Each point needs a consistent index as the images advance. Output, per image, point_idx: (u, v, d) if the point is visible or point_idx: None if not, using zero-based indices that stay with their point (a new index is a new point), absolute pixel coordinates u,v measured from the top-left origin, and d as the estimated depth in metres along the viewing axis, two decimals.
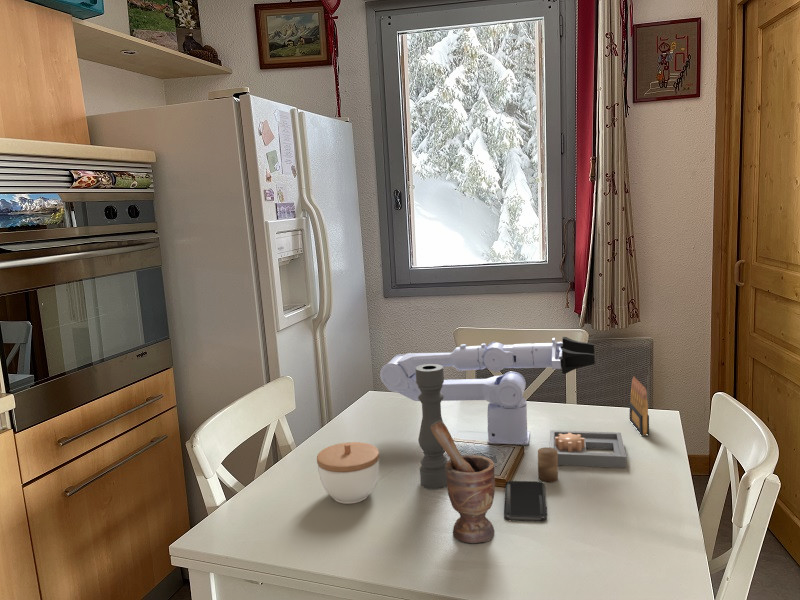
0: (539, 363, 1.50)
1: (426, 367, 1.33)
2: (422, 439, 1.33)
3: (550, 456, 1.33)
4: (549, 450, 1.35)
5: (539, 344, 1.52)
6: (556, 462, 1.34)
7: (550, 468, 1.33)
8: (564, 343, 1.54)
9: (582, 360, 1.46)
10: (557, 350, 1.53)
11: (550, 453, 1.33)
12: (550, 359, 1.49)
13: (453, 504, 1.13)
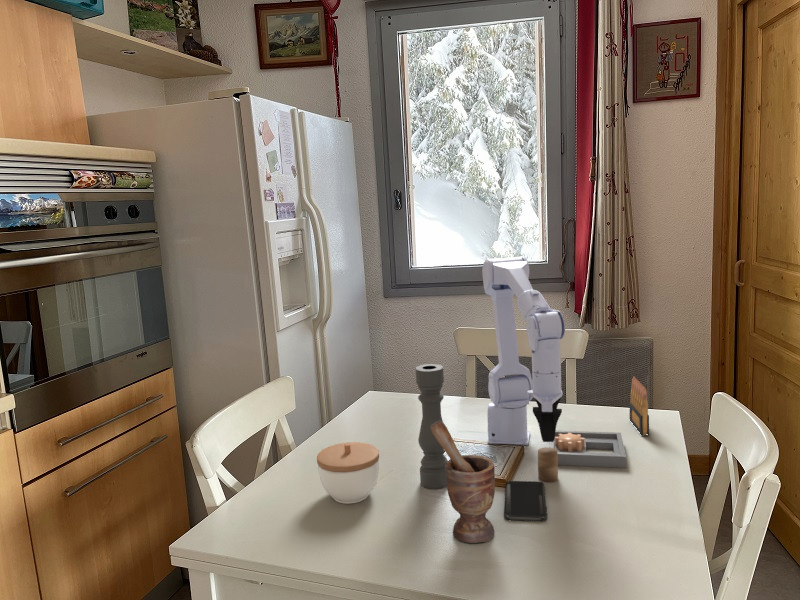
0: None
1: (426, 367, 1.33)
2: (422, 439, 1.33)
3: (550, 456, 1.33)
4: (549, 450, 1.35)
5: None
6: (556, 462, 1.34)
7: (550, 468, 1.33)
8: None
9: None
10: None
11: (550, 453, 1.33)
12: None
13: (453, 504, 1.13)
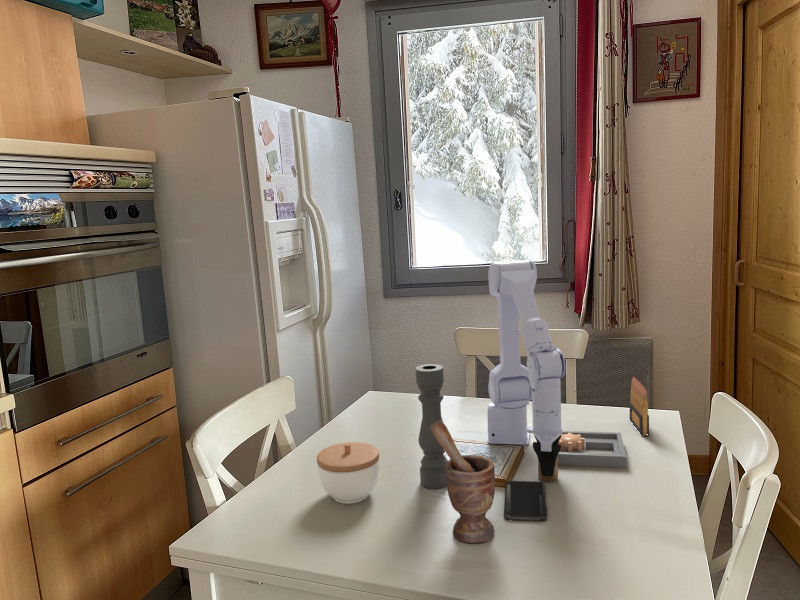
0: None
1: (426, 367, 1.33)
2: (422, 439, 1.33)
3: None
4: None
5: None
6: (556, 462, 1.34)
7: None
8: None
9: None
10: None
11: None
12: None
13: (453, 504, 1.13)
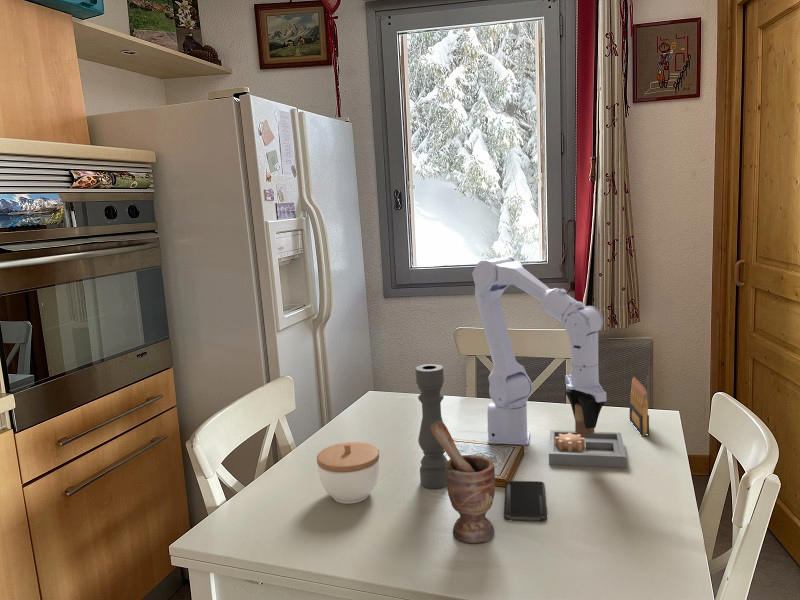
0: None
1: (426, 367, 1.33)
2: (422, 439, 1.33)
3: None
4: None
5: (572, 371, 1.40)
6: None
7: None
8: None
9: None
10: None
11: None
12: None
13: (453, 504, 1.13)
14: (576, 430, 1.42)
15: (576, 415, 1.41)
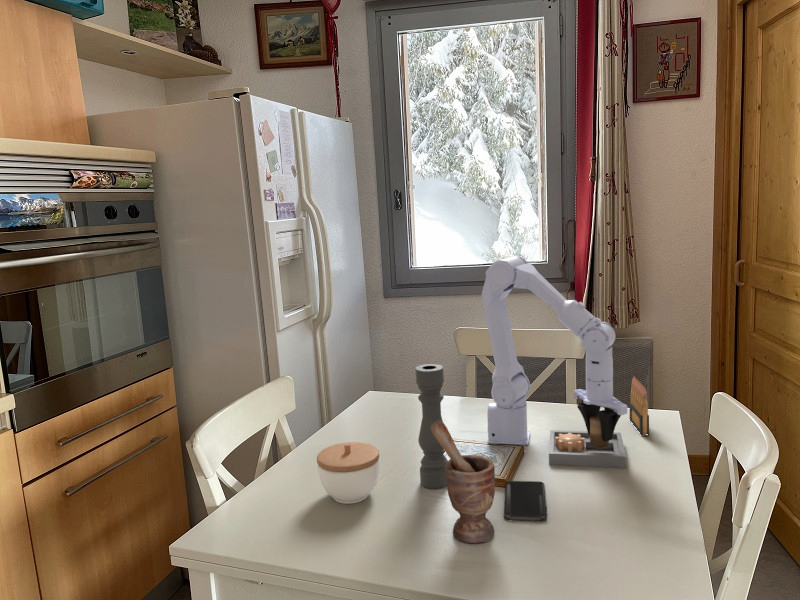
0: None
1: (426, 367, 1.33)
2: (422, 439, 1.33)
3: None
4: (598, 417, 1.45)
5: (588, 386, 1.43)
6: None
7: None
8: None
9: None
10: None
11: None
12: None
13: (453, 504, 1.13)
14: (592, 443, 1.45)
15: (593, 429, 1.44)
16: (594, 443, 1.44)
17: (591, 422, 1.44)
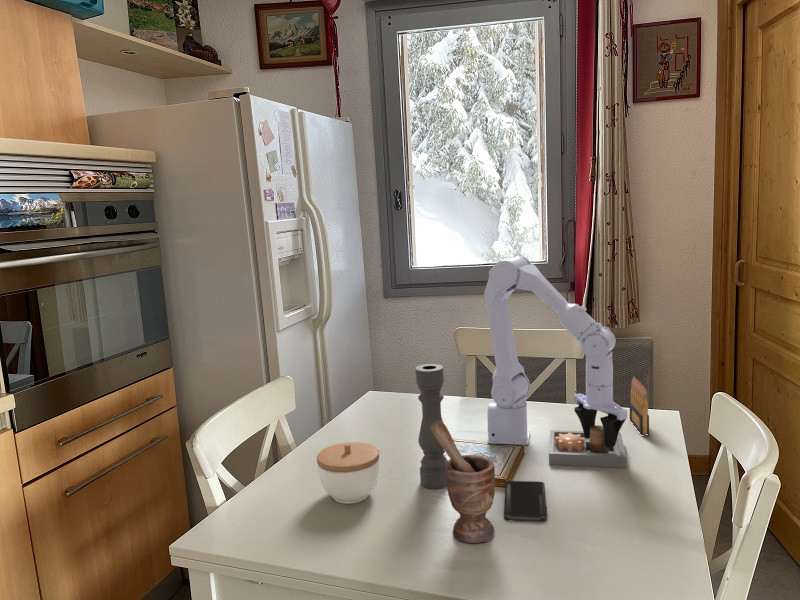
0: None
1: (426, 367, 1.33)
2: (422, 439, 1.33)
3: None
4: (598, 427, 1.46)
5: (588, 391, 1.43)
6: None
7: None
8: None
9: None
10: None
11: None
12: None
13: (453, 504, 1.13)
14: None
15: (592, 439, 1.45)
16: None
17: (591, 432, 1.45)
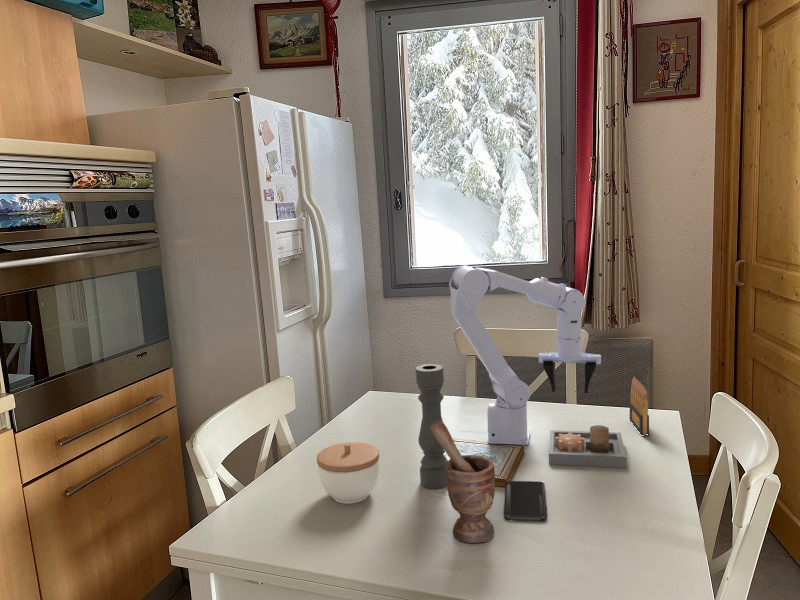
0: None
1: (426, 367, 1.33)
2: (422, 439, 1.33)
3: (607, 431, 1.44)
4: (598, 427, 1.46)
5: (566, 345, 1.55)
6: None
7: (608, 443, 1.44)
8: None
9: None
10: None
11: (605, 429, 1.45)
12: None
13: (453, 504, 1.13)
14: None
15: (593, 439, 1.45)
16: None
17: (591, 432, 1.45)
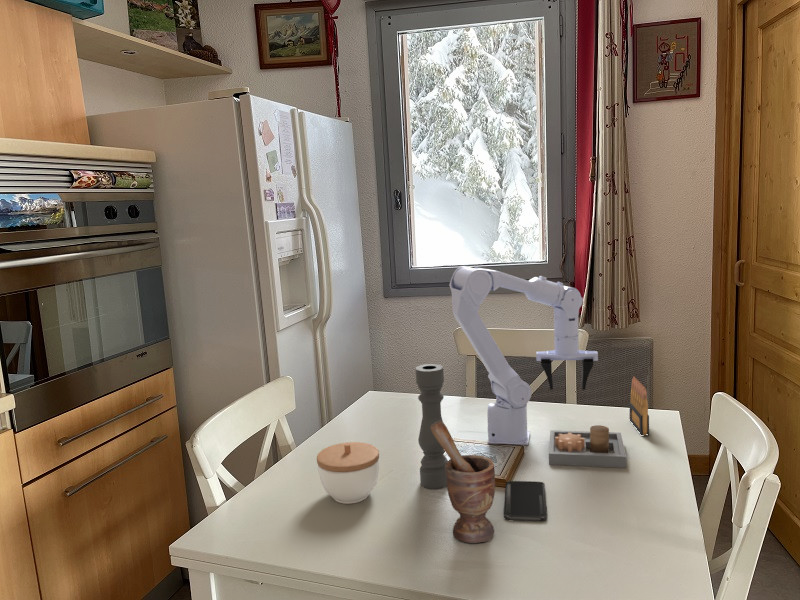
0: None
1: (426, 367, 1.33)
2: (422, 439, 1.33)
3: (608, 431, 1.44)
4: (598, 427, 1.46)
5: (565, 343, 1.56)
6: None
7: (608, 443, 1.44)
8: None
9: None
10: None
11: (605, 429, 1.45)
12: None
13: (453, 504, 1.13)
14: None
15: (593, 439, 1.45)
16: None
17: (591, 432, 1.45)
